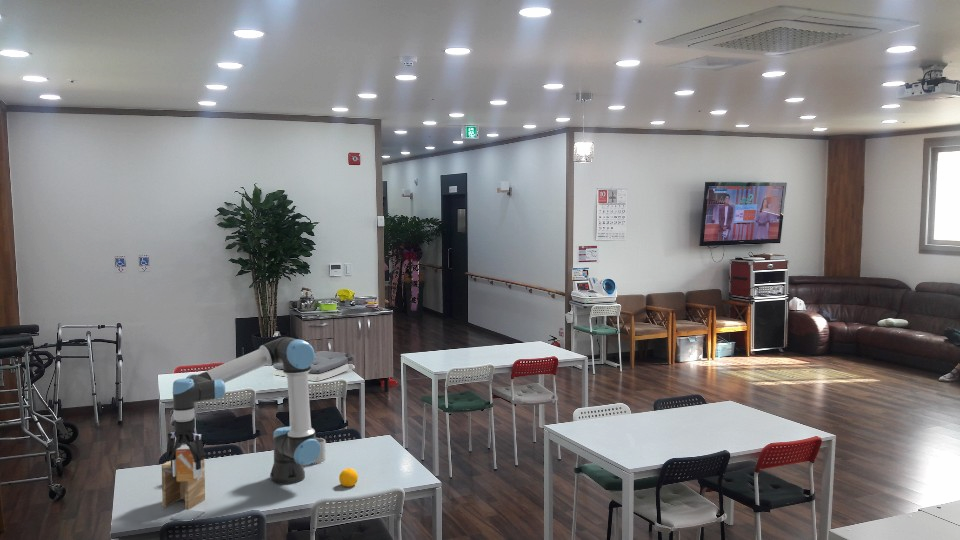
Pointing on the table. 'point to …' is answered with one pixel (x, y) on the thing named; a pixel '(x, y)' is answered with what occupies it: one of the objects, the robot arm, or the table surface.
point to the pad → (187, 515)
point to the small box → (185, 464)
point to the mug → (323, 451)
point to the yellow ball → (348, 477)
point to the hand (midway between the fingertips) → (186, 476)
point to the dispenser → (181, 488)
